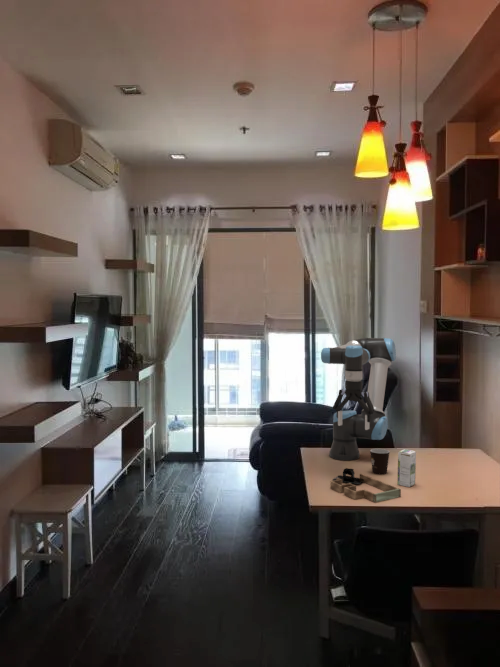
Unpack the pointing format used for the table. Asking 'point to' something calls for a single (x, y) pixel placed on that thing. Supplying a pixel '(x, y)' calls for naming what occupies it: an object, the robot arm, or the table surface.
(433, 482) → the table surface
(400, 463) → the syrup box
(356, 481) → the black notched block
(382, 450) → the coffee mug
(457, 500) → the table surface
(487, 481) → the table surface
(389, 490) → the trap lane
